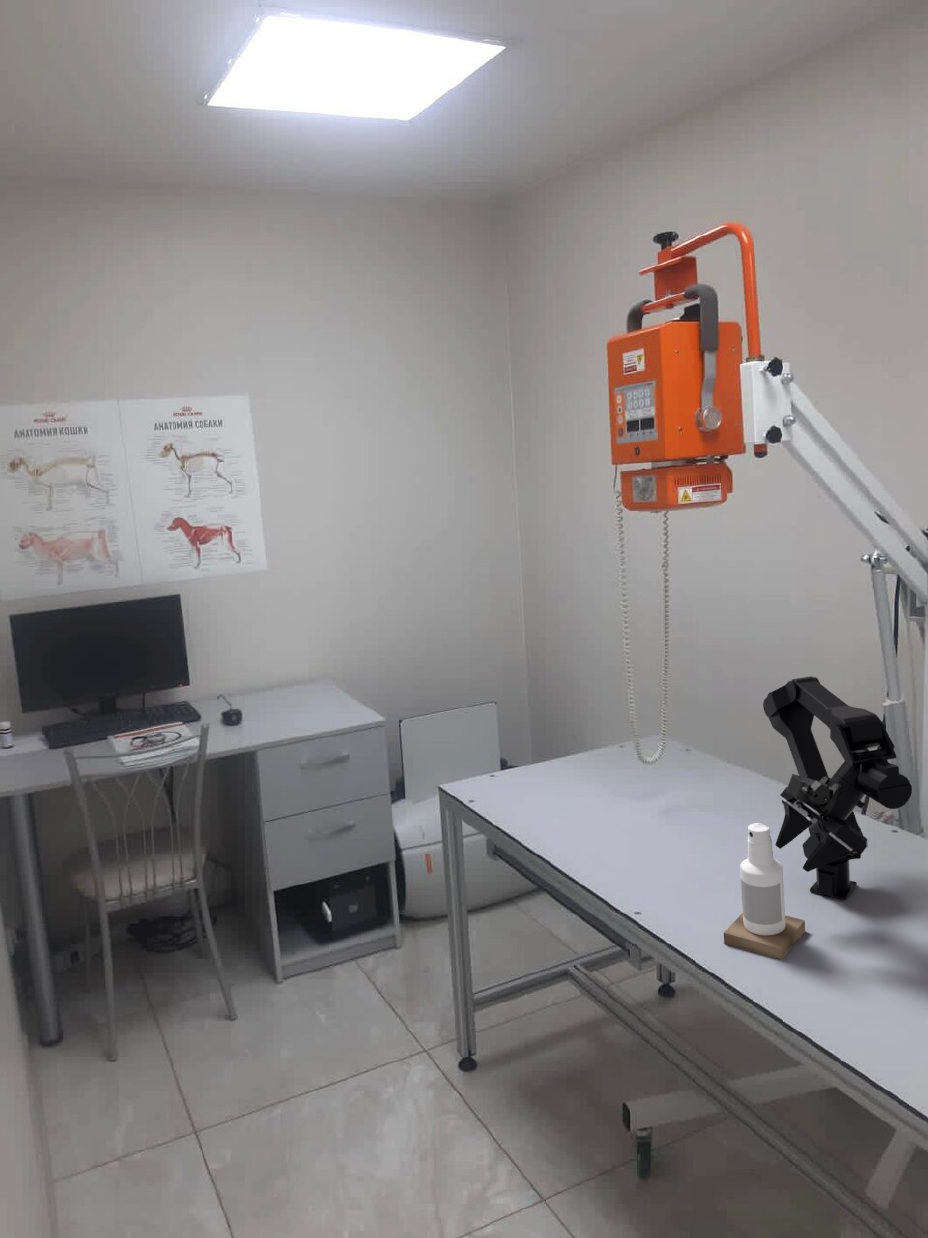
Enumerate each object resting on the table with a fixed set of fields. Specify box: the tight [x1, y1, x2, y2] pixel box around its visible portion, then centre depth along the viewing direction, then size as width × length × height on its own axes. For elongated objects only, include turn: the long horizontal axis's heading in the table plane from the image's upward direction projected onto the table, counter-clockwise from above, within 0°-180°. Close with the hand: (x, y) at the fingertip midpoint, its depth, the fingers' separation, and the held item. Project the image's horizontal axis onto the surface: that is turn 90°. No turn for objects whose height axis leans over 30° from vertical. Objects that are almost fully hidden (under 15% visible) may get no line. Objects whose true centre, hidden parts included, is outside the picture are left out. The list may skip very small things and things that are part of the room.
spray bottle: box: [739, 822, 786, 936], centre depth 164 cm, size 7×7×18 cm
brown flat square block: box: [723, 912, 806, 961], centre depth 165 cm, size 10×10×2 cm
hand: (790, 858), depth 163 cm, fingers open, 9 cm apart
